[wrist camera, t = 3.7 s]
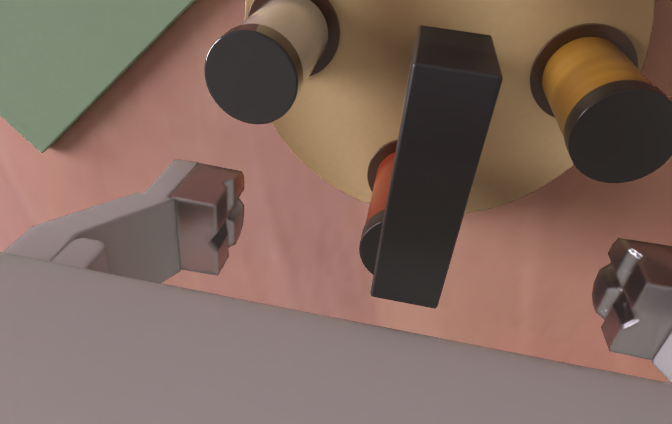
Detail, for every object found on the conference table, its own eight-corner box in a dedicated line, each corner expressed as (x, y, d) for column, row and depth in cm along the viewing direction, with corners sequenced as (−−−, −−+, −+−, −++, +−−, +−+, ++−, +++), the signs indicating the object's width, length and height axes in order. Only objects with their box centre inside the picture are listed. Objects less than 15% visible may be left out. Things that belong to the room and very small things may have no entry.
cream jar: (295, -26, 21) (250, 8, 16) (345, 40, 22) (317, 90, 17) (240, 24, 22) (184, 69, 17) (290, 83, 23) (250, 141, 19)
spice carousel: (510, -332, 16) (639, -705, 6) (713, 84, 22) (971, 298, 11) (179, 6, 24) (-36, 123, 13) (392, 250, 29) (363, 472, 19)
